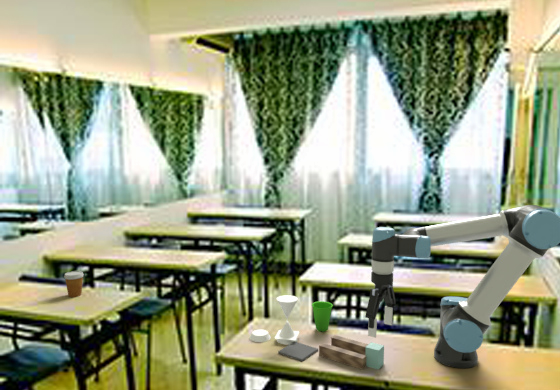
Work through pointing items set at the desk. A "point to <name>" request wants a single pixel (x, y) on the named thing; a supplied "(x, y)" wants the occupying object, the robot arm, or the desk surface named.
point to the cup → (322, 315)
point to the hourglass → (286, 333)
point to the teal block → (374, 355)
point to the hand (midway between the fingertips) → (380, 330)
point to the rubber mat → (298, 351)
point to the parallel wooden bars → (345, 351)
